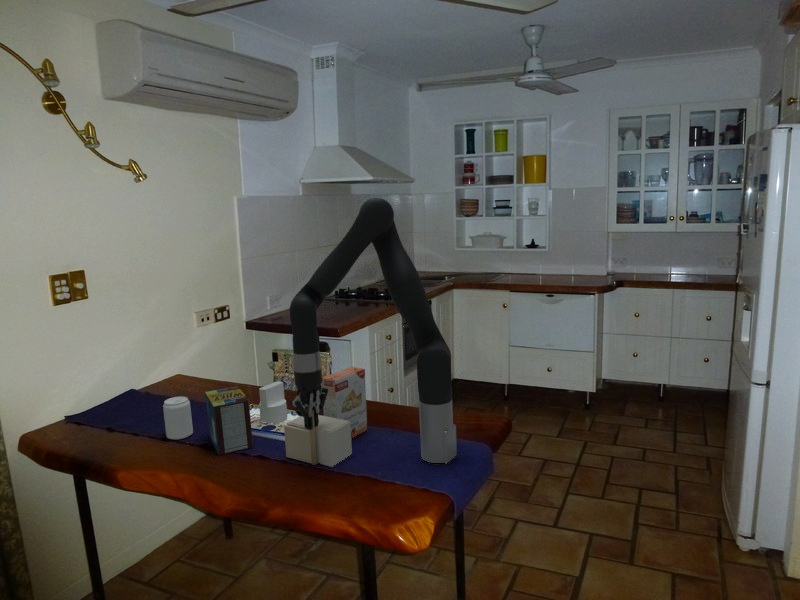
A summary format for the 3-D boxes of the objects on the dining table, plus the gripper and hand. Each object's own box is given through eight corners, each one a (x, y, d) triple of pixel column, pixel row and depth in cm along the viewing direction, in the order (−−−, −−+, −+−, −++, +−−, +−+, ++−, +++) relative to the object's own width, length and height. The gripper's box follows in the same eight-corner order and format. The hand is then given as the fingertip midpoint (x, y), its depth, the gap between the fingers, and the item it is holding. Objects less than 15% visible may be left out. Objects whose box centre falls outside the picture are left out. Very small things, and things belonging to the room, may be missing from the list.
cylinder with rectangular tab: (274, 426, 197) (271, 391, 195) (255, 421, 202) (251, 387, 200) (293, 416, 205) (290, 383, 203) (273, 412, 210) (270, 380, 208)
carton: (352, 454, 173) (350, 420, 171) (332, 467, 166) (330, 431, 164) (309, 444, 182) (307, 412, 180) (289, 455, 174) (286, 422, 172)
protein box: (242, 431, 194) (238, 385, 192) (253, 448, 181) (249, 399, 178) (209, 438, 190) (204, 391, 187) (218, 456, 176) (213, 405, 173)
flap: (318, 463, 168) (314, 409, 165) (314, 465, 166) (311, 411, 164) (289, 455, 174) (285, 403, 171) (285, 457, 172) (281, 405, 170)
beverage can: (162, 436, 192) (157, 401, 190) (185, 428, 198) (181, 394, 196) (174, 443, 187) (169, 406, 185) (198, 434, 193) (194, 399, 191)
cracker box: (339, 447, 178) (334, 380, 175) (324, 443, 182) (320, 377, 178) (369, 431, 189) (365, 368, 186) (354, 427, 193) (350, 365, 189)
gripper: (300, 376, 155) (305, 439, 158) (334, 362, 166) (338, 421, 169) (279, 372, 159) (284, 433, 162) (314, 359, 170) (318, 417, 173)
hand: (312, 427), depth 166 cm, fingers closed on flap
